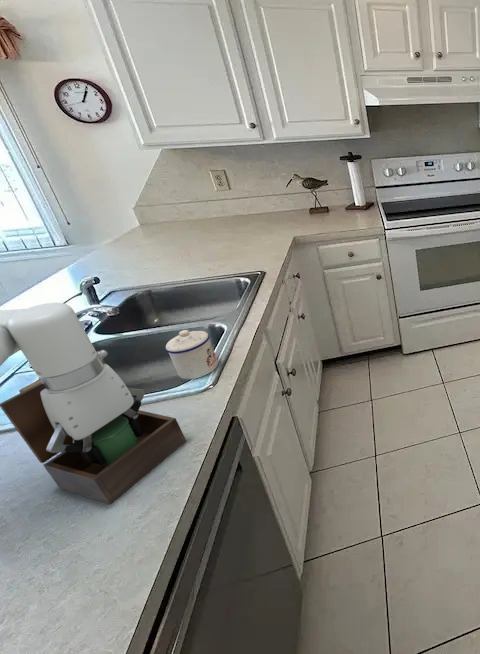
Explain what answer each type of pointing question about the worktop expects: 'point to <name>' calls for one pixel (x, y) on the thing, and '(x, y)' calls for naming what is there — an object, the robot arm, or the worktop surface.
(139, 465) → the chest
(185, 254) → the worktop surface
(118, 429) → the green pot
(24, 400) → the lid
